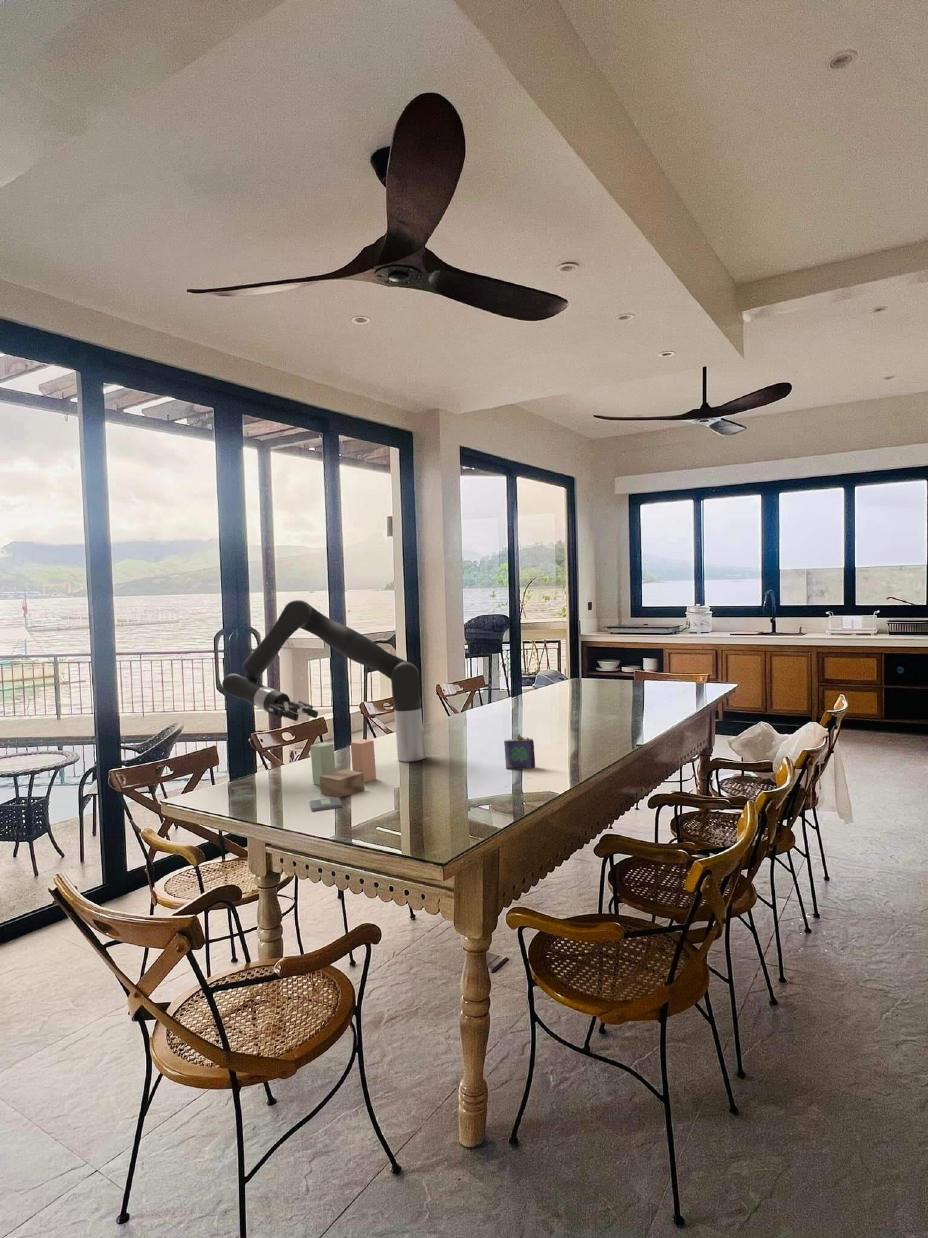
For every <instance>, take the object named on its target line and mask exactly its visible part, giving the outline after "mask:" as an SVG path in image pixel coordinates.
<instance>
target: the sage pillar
mask: <svg viewBox="0 0 928 1238" xmlns="http://www.w3.org/2000/svg"><path fill="white" fill-rule="evenodd" d="M334 747H335V746H334V743H333V742H331V743H330V742H324V741H322V742H319V743H316V744H315V743H314V744H311V745H310V759H311V770H312V773H311V774H312V784H313V783H314V784H313V785H316V784H317V786H320V776H322V775H326V774H329V773H333V772H336V762H335V761H336V760H335V748H334Z"/></svg>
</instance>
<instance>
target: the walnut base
mask: <svg viewBox="0 0 928 1238" xmlns="http://www.w3.org/2000/svg"><path fill="white" fill-rule="evenodd" d="M319 788H320V794H322V795H323V794H324V795H327V796H332V797H339V798H343V797H346V796H349V795H352V794H356V793H358V792H362V791H364V790H365V783H364V777H363V773H361V772H356V771H353V770H349V769H341V770H337V771H336V770H335V772H333V773H329V774H326V775H322V776H320V785H319Z"/></svg>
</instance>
